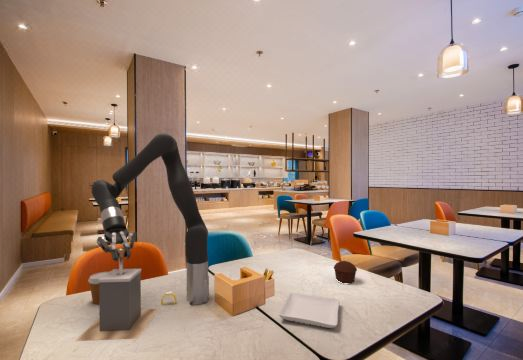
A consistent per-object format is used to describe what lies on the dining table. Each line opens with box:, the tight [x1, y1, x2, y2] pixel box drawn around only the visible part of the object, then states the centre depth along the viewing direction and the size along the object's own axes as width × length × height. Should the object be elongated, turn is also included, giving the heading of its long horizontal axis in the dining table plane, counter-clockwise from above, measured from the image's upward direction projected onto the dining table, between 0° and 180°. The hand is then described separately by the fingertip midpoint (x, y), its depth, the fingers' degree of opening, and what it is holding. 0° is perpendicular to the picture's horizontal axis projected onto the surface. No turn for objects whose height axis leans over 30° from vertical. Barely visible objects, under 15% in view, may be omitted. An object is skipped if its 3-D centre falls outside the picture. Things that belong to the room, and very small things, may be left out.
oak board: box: [75, 308, 159, 342], centre depth 97 cm, size 20×20×1 cm
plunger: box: [115, 246, 126, 275], centre depth 97 cm, size 7×7×21 cm
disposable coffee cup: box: [88, 271, 110, 305], centre depth 115 cm, size 10×10×12 cm
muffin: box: [333, 260, 358, 284], centre depth 138 cm, size 12×11×10 cm
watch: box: [160, 290, 177, 306], centre depth 111 cm, size 6×3×6 cm, turn 98°
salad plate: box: [278, 292, 341, 329], centre depth 105 cm, size 21×21×3 cm
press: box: [98, 268, 142, 331], centre depth 97 cm, size 12×10×18 cm
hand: (122, 258), depth 95 cm, fingers closed on plunger, 3 cm apart
